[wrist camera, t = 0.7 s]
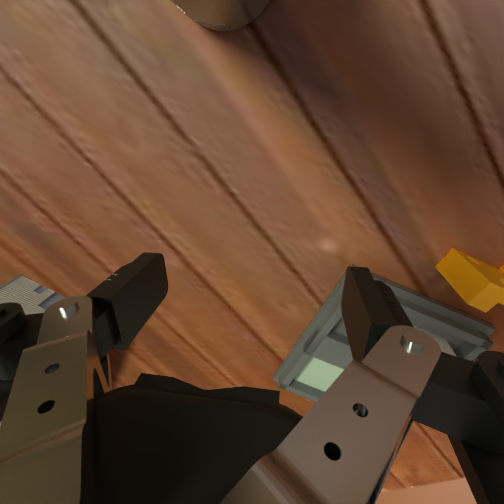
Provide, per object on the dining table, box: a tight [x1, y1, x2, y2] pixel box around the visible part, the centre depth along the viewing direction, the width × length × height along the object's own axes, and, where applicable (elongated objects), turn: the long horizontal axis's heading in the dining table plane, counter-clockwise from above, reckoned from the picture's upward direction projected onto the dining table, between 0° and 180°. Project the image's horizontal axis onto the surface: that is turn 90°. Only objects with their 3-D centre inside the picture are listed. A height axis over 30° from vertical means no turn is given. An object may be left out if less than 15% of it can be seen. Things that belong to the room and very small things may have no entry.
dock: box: [273, 264, 496, 402], centre depth 34 cm, size 22×18×6 cm
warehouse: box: [0, 275, 65, 422], centre depth 44 cm, size 30×14×8 cm, turn 152°
